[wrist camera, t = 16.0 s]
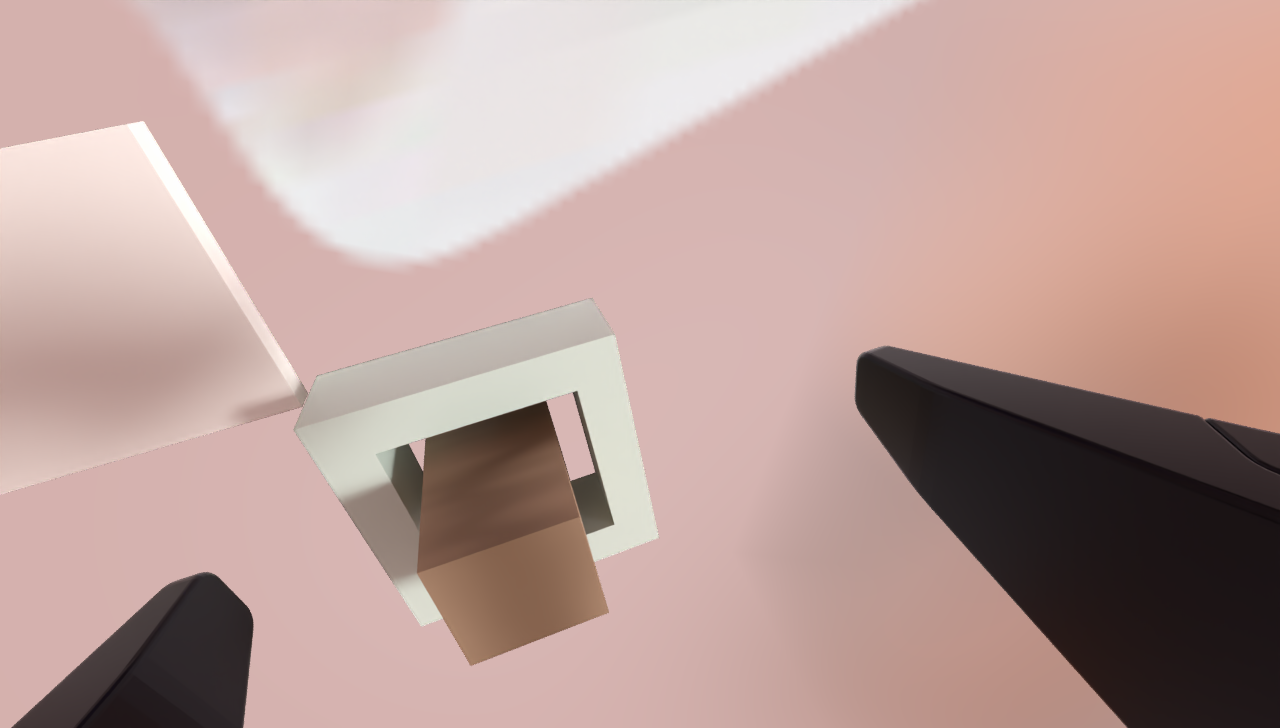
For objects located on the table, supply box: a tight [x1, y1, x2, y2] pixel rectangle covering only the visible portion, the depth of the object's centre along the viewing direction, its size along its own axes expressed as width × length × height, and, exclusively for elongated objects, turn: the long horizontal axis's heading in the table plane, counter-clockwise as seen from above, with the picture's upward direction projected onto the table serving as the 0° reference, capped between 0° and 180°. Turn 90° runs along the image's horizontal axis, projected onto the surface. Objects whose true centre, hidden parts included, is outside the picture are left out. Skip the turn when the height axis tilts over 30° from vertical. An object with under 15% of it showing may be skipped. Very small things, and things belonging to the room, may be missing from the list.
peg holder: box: [294, 298, 659, 626], centre depth 19 cm, size 9×9×3 cm
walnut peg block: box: [417, 401, 609, 666], centre depth 17 cm, size 4×4×7 cm
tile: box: [0, 121, 308, 495], centre depth 14 cm, size 8×8×1 cm
